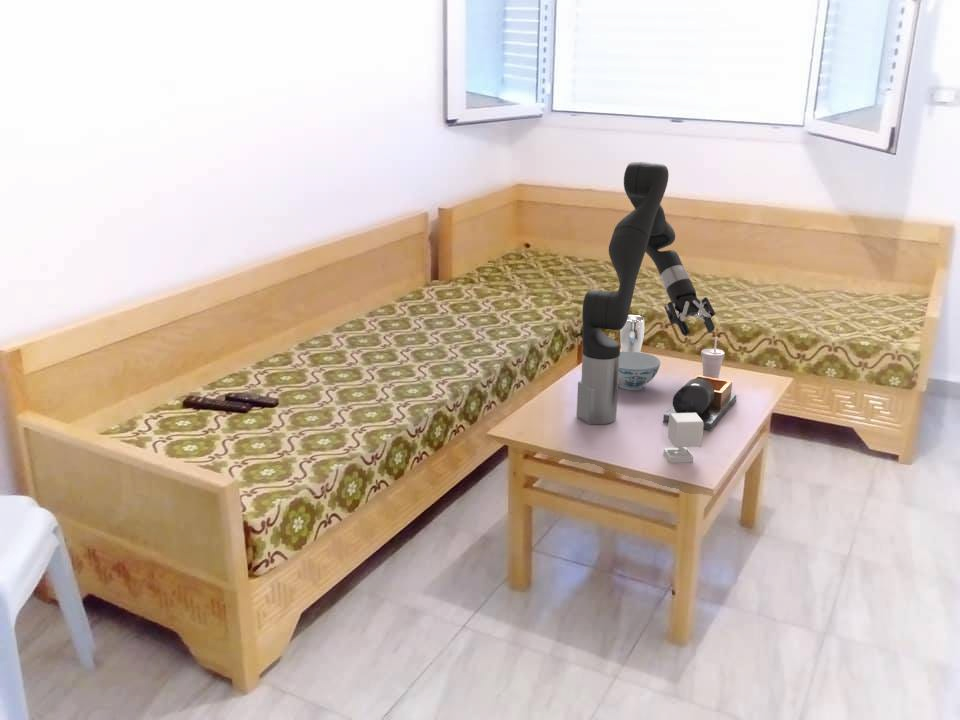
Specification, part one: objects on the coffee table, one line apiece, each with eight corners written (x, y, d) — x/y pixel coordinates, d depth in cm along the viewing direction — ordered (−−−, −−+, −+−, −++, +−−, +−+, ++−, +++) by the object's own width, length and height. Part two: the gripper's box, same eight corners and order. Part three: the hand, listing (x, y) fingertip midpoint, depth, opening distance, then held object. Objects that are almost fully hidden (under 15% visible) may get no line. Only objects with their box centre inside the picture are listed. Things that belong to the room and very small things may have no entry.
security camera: (700, 462, 205) (704, 422, 202) (670, 463, 205) (673, 423, 201) (692, 451, 211) (695, 411, 208) (662, 451, 211) (665, 412, 207)
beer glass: (636, 371, 263) (639, 322, 258) (614, 367, 267) (617, 318, 262) (645, 365, 269) (648, 317, 264) (623, 361, 272) (626, 313, 267)
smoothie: (716, 390, 249) (720, 341, 245) (694, 385, 253) (698, 337, 248) (725, 383, 254) (730, 336, 250) (704, 378, 258) (708, 332, 253)
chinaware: (598, 391, 248) (599, 364, 246) (612, 374, 261) (613, 348, 259) (652, 398, 243) (653, 371, 240) (663, 381, 256) (665, 355, 253)
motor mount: (710, 431, 222) (713, 393, 219) (663, 421, 228) (666, 384, 224) (735, 400, 242) (739, 365, 239) (692, 392, 247) (695, 358, 244)
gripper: (663, 280, 255) (685, 329, 249) (704, 275, 260) (726, 323, 254) (651, 293, 261) (672, 342, 255) (691, 288, 267) (713, 336, 261)
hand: (699, 333), depth 255 cm, fingers open, 8 cm apart
